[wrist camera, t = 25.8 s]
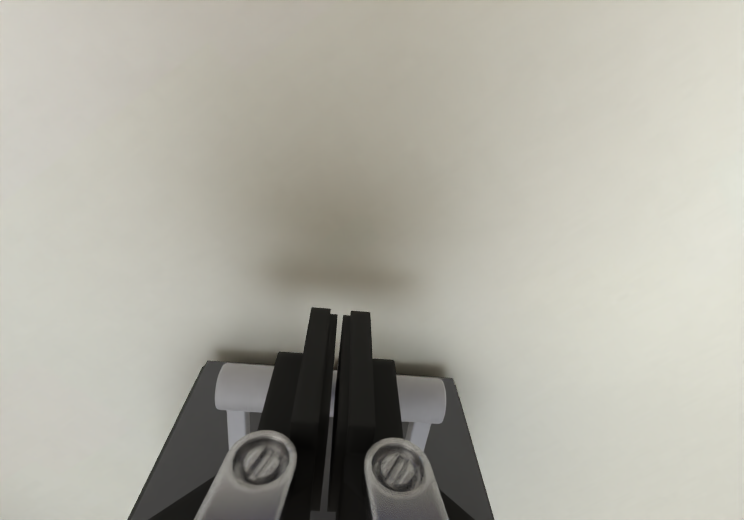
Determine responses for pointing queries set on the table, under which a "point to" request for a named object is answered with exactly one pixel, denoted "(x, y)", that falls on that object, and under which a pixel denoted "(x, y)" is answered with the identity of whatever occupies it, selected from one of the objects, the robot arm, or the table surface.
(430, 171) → the table surface
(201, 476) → the drawer
